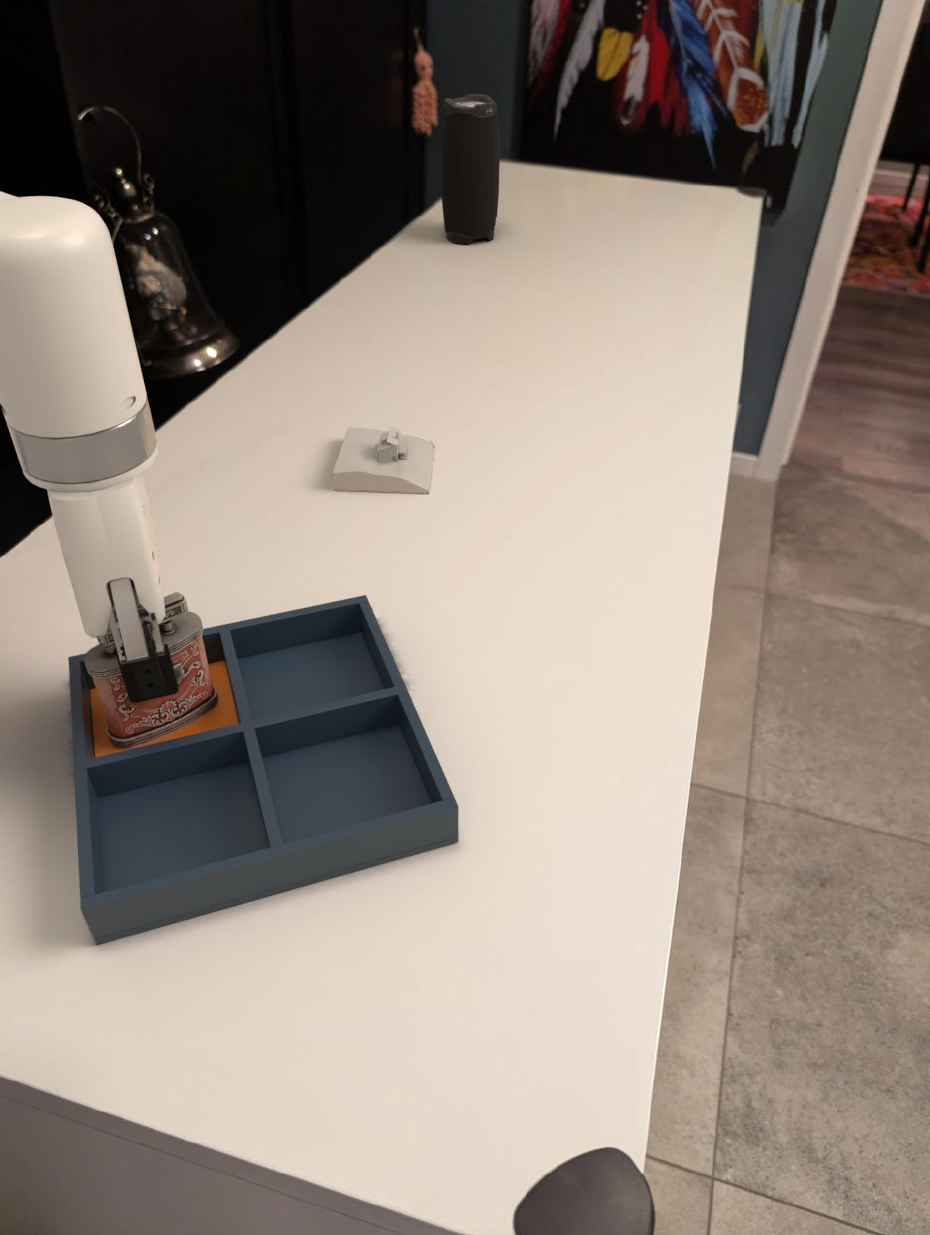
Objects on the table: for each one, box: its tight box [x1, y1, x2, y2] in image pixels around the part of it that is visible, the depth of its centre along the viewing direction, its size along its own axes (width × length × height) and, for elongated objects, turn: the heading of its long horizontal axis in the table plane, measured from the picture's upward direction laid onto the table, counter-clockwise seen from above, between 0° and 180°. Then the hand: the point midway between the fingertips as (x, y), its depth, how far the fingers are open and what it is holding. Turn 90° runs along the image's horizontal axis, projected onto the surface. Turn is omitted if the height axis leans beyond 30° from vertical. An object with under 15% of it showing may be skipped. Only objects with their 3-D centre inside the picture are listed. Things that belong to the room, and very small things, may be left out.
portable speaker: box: [440, 93, 501, 246], centre depth 145 cm, size 9×9×20 cm
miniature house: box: [331, 426, 436, 495], centre depth 96 cm, size 12×11×4 cm
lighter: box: [84, 591, 218, 749], centre depth 66 cm, size 8×3×10 cm, turn 128°
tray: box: [67, 594, 459, 946], centre depth 66 cm, size 22×22×4 cm
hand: (150, 669), depth 66 cm, fingers closed on lighter, 4 cm apart
